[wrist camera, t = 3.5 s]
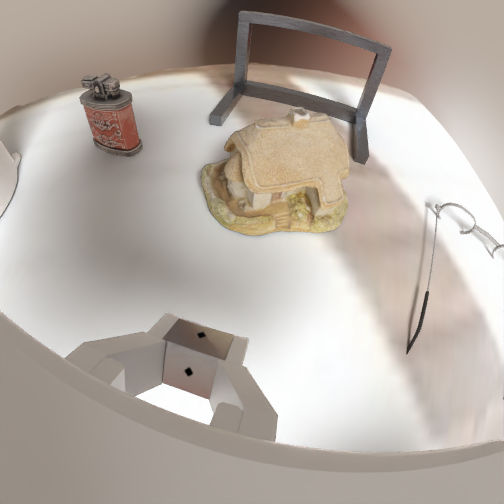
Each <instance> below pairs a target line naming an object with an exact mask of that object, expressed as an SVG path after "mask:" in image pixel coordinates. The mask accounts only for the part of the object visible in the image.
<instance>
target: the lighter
mask: <svg viewBox="0 0 504 504" xmlns="http://www.w3.org/2000/svg"><path fill="white" fill-rule="evenodd" d="M81 83H82V87H83V88H87V89H90V90H88V91H87V92H85V93H83V94H82V95H81V96H80V101H81V104H83V106H84V109H85V112H86V115H87V119H88V122H89V125H90V128H91V131H92V134H93V136H94V138H93V141H94V144H95V146H96V147H98V148H99V149H101V150H103V151H105V152H107V153H110V154H113V155H117V156H123V157H132V156H135V155H137V154H138V153H139V152H140V151H141V150H142V148H143V147H142V142H141V140H140V139H139V136H138V132H137V127H136V123H135V118H134V113H133V109H132V104H131V102H132V94H131V93H130V92H127V91H124V90H121V89H120V84H119V79H118V78H112V77H111V76H110V75H109V74H104V75H102V76H101V77H97V76H85V77H83V78H82V80H81Z"/></svg>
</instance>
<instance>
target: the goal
mask: <svg viewBox="0 0 504 504" xmlns="http://www.w3.org/2000/svg"><path fill="white" fill-rule="evenodd" d="M252 23H258V24H265V25H272V26H278V27H284V28H290V29H295V30H299V31H304V32H308V33H312V34H316V35H321V36H324V37H328V38H332V39H335V40H339V41H342V42H345V43H348V44H351V45H354V46H357V47H360V48H363V49H366V50H369V51H371V52H374V53H376V56H375V59H374V62H373V65H372V68H371V71H370V74H369V76H368V79H367V82H366V85H365V87H364V90H363V93H362V96H361V98H360V101H359V104H358V107H357V108H354V107H351V106H348V105H345V104H342V103H339V102H335V101H332V100H329V99H326V98H322V97H319V96H315V95H311V94H308V93H304V92H300V91H296V90H292V89H288V88H283V87H279V86H274V85H269V84H264V83H259V82H253V81H247V71H248V61H249V60H248V59H249V50H250V39H251V31H252ZM391 51H392V49H391V47H389V46H387V45H385V44H382V43H379V42H377V41H374V40H371V39H369V38H366V37H363V36H360V35H357V34H354V33H351V32H348V31H345V30H341V29H338V28H334V27H331V26H327V25H323V24H319V23H315V22H311V21H307V20H302V19H297V18H292V17H286V16H280V15H274V14H267V13H259V12H250V11H241V12H239V21H238V34H237V47H236V61H235V76H234V86H233V87H232V88H231V89H230V90H229V92H228V93H227V94H226V95H225V96H224V98H223V99H222V100H221V101H220V103H219V104H218V105H217V106H216V108H215V109H214V110H213V111H212V113H211V114H210V124H212V125H218V126H222V124H223V123H224V121H225V120H226V118H227V117H228V115H229V114H230V112H231V111H232V110H233V108H234V107H235V105H236V104H237V102H238V101H239V100H240V98H241V97H242V95H246V96H252V97H257V98H262V99H267V100H271V101H276V102H280V103H285V104H289V105H293V106H297V107H303V108H304V109H308V110H312V111H315V112H319V113H325V114H327V115H329V116H332V117H335V118H338V119H341V120H344V121H347V122H350V123H353V139H354V161H356V162H359V163H361V164H364V165H365V163H366V161H367V159H368V157H369V150H368V138H367V128H366V117H367V114H368V112H369V109H370V107H371V104H372V102H373V99H374V97H375V94H376V91H377V89H378V86H379V84H380V81H381V78H382V76H383V73H384V70H385V68H386V65H387V62H388V59H389V57H390V54H391Z"/></svg>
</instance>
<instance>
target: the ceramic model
mask: <svg viewBox="0 0 504 504" xmlns="http://www.w3.org/2000/svg"><path fill="white" fill-rule="evenodd" d="M224 150H225V151H227V152H231V155H230V157H231V158H228V159H226V160H223V161H220V162H218V163H216V164H207V165H205V167H204V168H203V169H202V176H201V181H202V186H203V188H204V191H205V194H206V199H207V203H208V207H209V209H210V212H211V213H212V214H213V216H214V217H215V218H216V219H217V220H218V222H220V223H221V224H222V225H223V226H225V227H226V228H228V229H230V230H233V231H236V232H240V233H242V234H246V235H257V236H258V235H264V234H268V233H272V232H275V231H286V232H290V231H293V232H295V231H299V232H301V231H303V232H312V233H321V232H325V231H330V230H335V229H336V228H337V227H338V226H339V225H340V224H341V221H342V220H343V218H344V215H345V214H346V212H347V209H348V198H347V196H346V193H345V191H344V189H343V187H342V183H341V179H345V178H347V177H348V176H349V153H348V148H347V145H346V142H345V141H344V140H343V138H342V137H341V136H340V135H339V134H338V133H337V131H336V129H335V127H334V126H333V124H332V123H331V121H330V118H329V117H328V115H327V114H325V113H315V114H310V115H309V114H308V112H307V111H306V110H305V109H304V108H303V107H294V108H291V110H290V111H289V113H288V115H287V117H282V118H271V119H261V120H255V123H254V124H252V125H249V126H247V127H245V128H243V129H241V130H240V131H235V132H234V133H233V134H232V135H231V136H230V138H229V139H228V141H227V142H226V144H225V147H224Z"/></svg>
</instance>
